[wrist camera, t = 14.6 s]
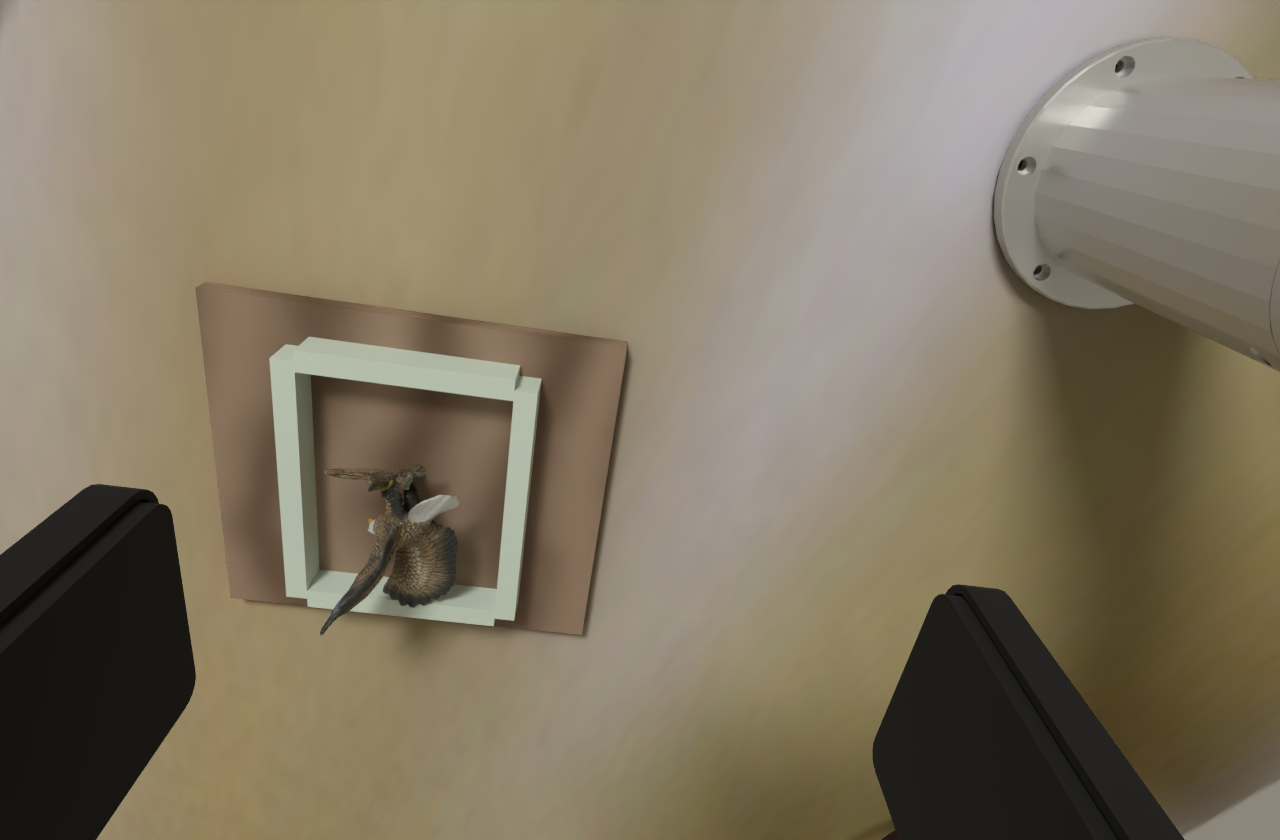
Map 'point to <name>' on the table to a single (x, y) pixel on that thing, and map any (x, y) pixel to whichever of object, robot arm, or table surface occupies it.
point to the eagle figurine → (403, 542)
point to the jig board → (407, 450)
